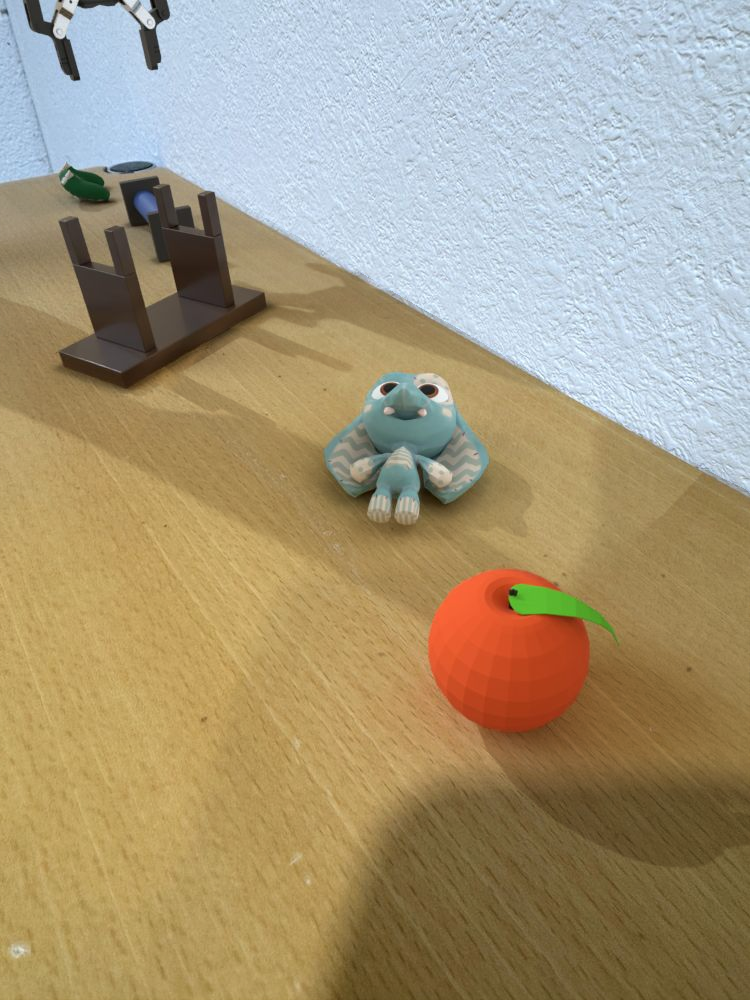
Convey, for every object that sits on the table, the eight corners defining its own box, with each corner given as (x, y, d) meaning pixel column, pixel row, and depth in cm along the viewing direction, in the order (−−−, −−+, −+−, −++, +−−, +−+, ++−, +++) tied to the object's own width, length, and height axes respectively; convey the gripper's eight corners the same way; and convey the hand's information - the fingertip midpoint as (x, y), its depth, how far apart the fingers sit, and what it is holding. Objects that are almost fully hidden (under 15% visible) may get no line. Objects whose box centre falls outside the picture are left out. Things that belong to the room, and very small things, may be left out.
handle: (129, 224, 90) (118, 181, 87) (166, 217, 92) (156, 175, 89) (159, 262, 79) (147, 215, 76) (200, 253, 81) (190, 207, 77)
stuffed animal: (290, 466, 38) (333, 332, 46) (309, 543, 44) (345, 412, 51) (488, 479, 36) (498, 337, 44) (482, 558, 42) (492, 420, 49)
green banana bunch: (92, 200, 106) (54, 175, 102) (105, 179, 105) (67, 153, 101) (99, 217, 99) (58, 191, 95) (113, 194, 98) (72, 167, 94)
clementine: (596, 647, 34) (622, 541, 30) (608, 777, 29) (642, 673, 25) (434, 631, 36) (436, 527, 31) (419, 753, 30) (418, 649, 26)
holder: (126, 388, 57) (82, 247, 49) (63, 366, 60) (14, 231, 53) (267, 306, 68) (248, 182, 61) (207, 292, 72) (183, 172, 64)
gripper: (129, -122, 71) (167, 63, 82) (-19, -118, 66) (42, 79, 76) (150, -129, 66) (188, 70, 76) (-9, -125, 61) (54, 87, 71)
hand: (114, 74), depth 76 cm, fingers open, 8 cm apart
